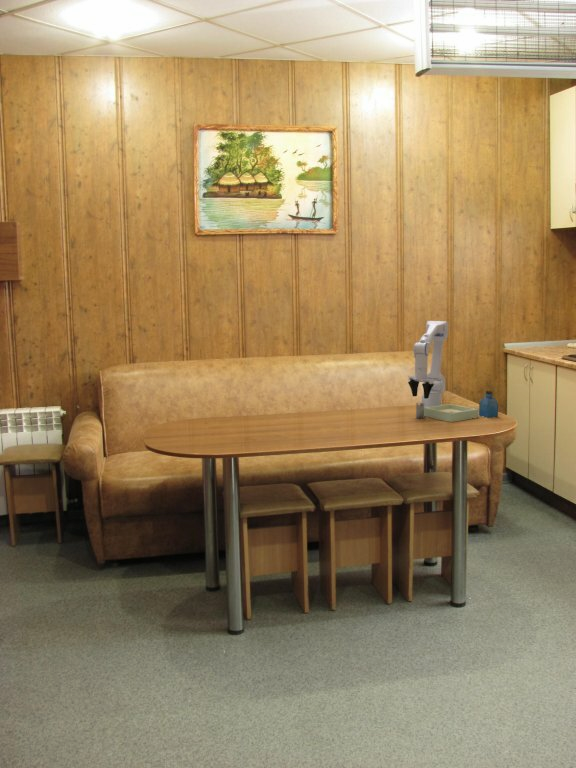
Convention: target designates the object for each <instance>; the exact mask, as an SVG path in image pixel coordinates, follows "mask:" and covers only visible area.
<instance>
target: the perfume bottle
mask: <svg viewBox="0 0 576 768" xmlns="http://www.w3.org/2000/svg"><path fill="white" fill-rule="evenodd" d="M493 394H494V393H493V391H492V390H485V394H484V395H485V397H482V399H481V400H480V401H479V403H478V404H479V407H478V416H479V415H480V416H479V417H482V416H484V417H483V418H486V417H487V419H488V418H489V419H491V418H499V403H498V401H497V399H496V398H494V397H493V396H494V395H493Z"/></svg>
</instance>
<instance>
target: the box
mask: <svg viewBox="0 0 576 768" xmlns="http://www.w3.org/2000/svg"><path fill="white" fill-rule="evenodd" d="M425 416H426V417H425ZM424 417H425V418H431V419H435V420H440V421H444V422H447V423H448V422H449V423H453V422H459V421H461V422H462V421H465V420H466V421H467V420H472V418H473V419H478V418H479V408H474V407H468V406H463V405H458V404H452V403H446V404H441V405H439V406H432V407H425V408H424ZM477 417H478V418H477Z"/></svg>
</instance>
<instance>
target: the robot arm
mask: <svg viewBox="0 0 576 768" xmlns="http://www.w3.org/2000/svg"><path fill="white" fill-rule="evenodd" d="M449 328H450V327H449V322H448V321H447V320H443V321H442V320H427V322H426V324H425V330H426V333H423V335H422V336H421V337H420V339H419V341H417V342H416V343H414V345H413V358H414V375H409V376H408V381H407V382H408V383H407V384H408V385H409V387H410V391H411V394H412V397H417V396H418V390H419V384H420V383H422V384H421V386H422V389H423V393H422V394H421V395H422V396H421V403H424V408H425V407H432V406H439V405H442V397H443V395H442V394H443V393H444V392H445V391H446V377H445V375H443V374H442V373H441V372H442V370H441V369H442V359H443V352H444V351H443V350H444V343H445V340H447V339H448V336H449ZM432 344H433V345H432ZM431 346H432V353H431V354H432V355H431V364H430V372H429V373H428V363H429V362H428V361H429V359H428V356H429V355H430V351H431Z"/></svg>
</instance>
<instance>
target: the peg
mask: <svg viewBox="0 0 576 768" xmlns="http://www.w3.org/2000/svg"><path fill="white" fill-rule="evenodd" d="M415 406H416V407H415V409H416V410H415V411H416V412H415V419H418V420H424V419H425V416H424V403H422V402H417V403H416V404H415Z"/></svg>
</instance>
